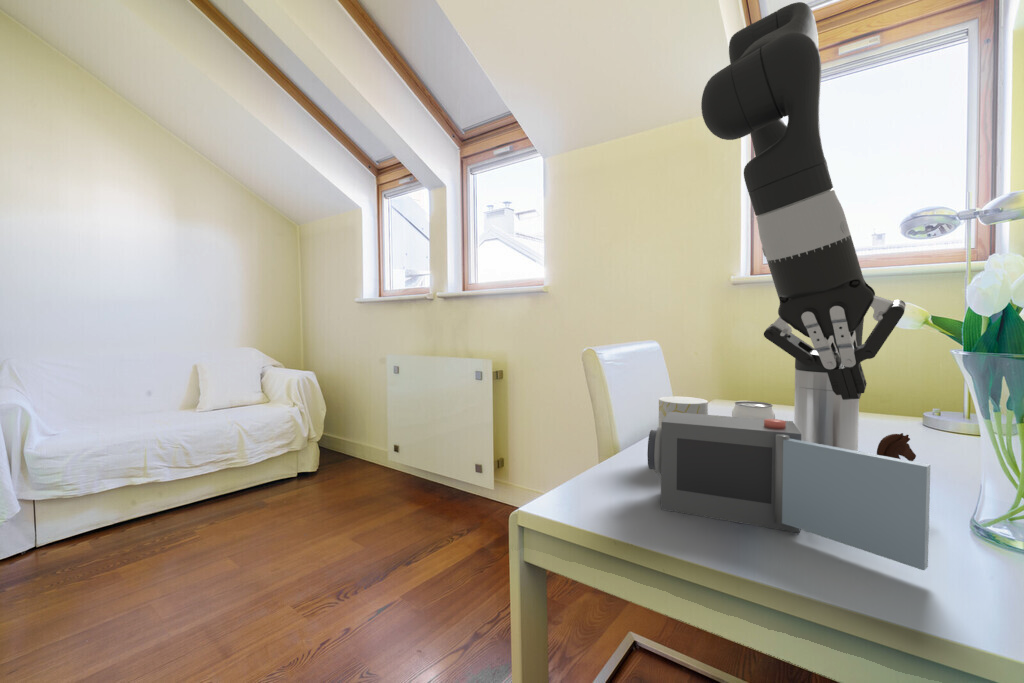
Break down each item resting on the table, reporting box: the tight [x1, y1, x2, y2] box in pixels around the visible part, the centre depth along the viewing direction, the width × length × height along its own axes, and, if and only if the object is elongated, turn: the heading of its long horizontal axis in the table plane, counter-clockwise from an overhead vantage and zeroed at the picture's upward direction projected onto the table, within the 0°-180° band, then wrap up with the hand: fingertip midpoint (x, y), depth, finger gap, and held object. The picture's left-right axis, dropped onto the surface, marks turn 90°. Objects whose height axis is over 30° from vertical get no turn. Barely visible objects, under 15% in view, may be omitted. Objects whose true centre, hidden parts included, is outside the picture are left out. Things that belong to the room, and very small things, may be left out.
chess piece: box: [876, 432, 917, 462], centre depth 61 cm, size 5×5×10 cm
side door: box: [774, 434, 931, 571], centre depth 48 cm, size 2×14×11 cm, turn 35°
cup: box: [658, 395, 709, 427], centre depth 79 cm, size 8×8×12 cm
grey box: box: [647, 412, 801, 534], centre depth 61 cm, size 8×18×13 cm, turn 64°
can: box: [731, 400, 776, 419], centre depth 75 cm, size 6×6×12 cm
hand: (852, 396), depth 48 cm, fingers closed
